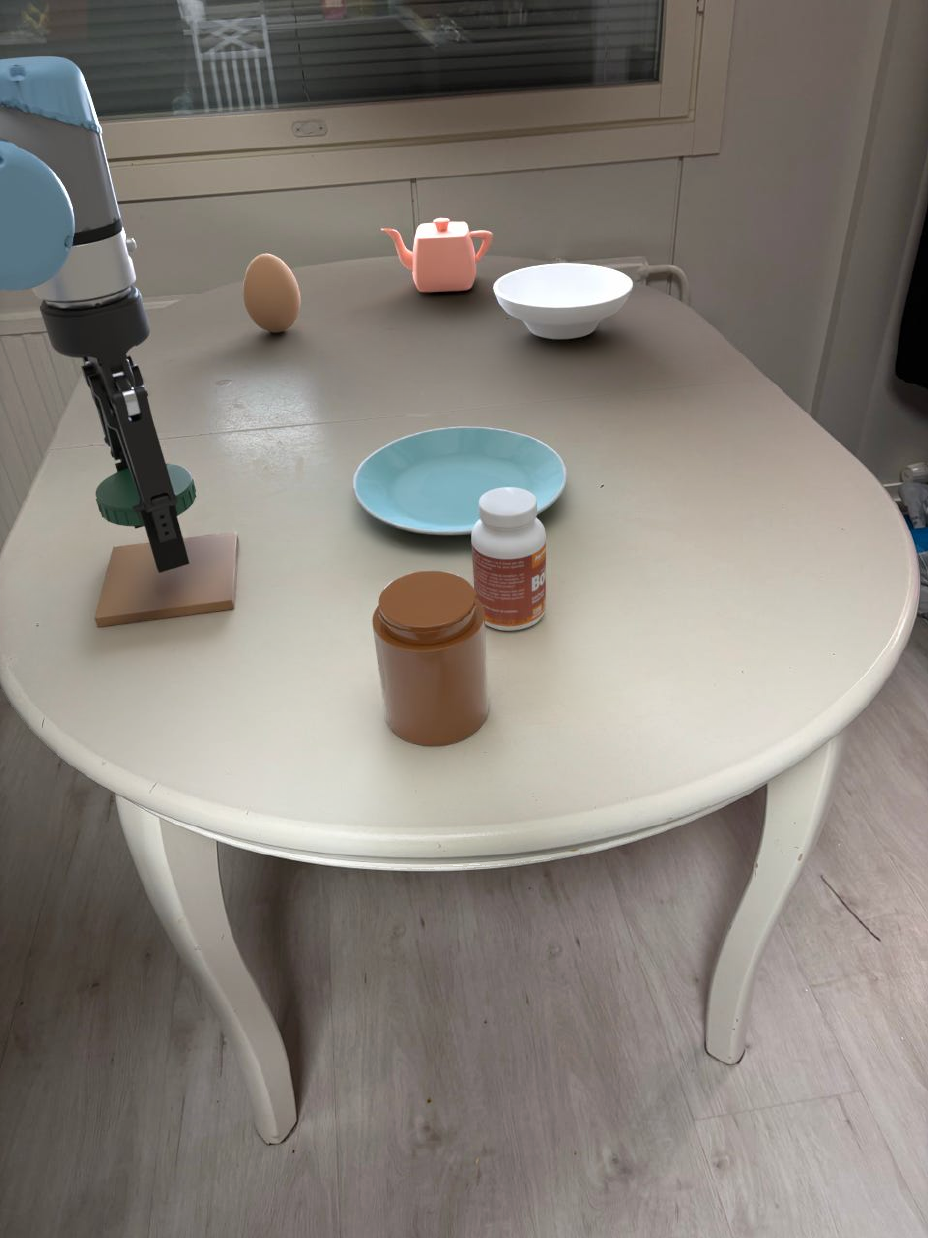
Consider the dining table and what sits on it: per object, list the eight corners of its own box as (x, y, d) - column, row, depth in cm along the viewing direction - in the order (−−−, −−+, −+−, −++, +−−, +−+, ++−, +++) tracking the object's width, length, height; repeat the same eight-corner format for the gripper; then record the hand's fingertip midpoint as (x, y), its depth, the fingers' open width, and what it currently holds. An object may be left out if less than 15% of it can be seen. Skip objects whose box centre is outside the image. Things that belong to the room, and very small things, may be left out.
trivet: (97, 627, 82) (93, 618, 81) (115, 555, 91) (113, 546, 91) (234, 609, 83) (232, 600, 82) (238, 539, 92) (236, 531, 92)
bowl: (553, 300, 145) (553, 255, 141) (657, 326, 134) (661, 278, 130) (467, 336, 134) (464, 289, 130) (572, 368, 123) (573, 317, 119)
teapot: (495, 293, 149) (493, 225, 143) (384, 299, 150) (377, 231, 144) (493, 272, 158) (492, 207, 152) (389, 277, 159) (383, 213, 153)
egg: (261, 345, 136) (246, 266, 129) (242, 329, 142) (227, 253, 135) (313, 332, 139) (301, 255, 132) (293, 317, 145) (281, 242, 138)
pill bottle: (546, 633, 78) (546, 520, 71) (473, 633, 78) (466, 520, 72) (545, 591, 83) (546, 481, 76) (476, 591, 83) (471, 482, 77)
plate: (539, 567, 86) (539, 541, 84) (320, 539, 92) (316, 515, 90) (585, 458, 103) (586, 435, 101) (398, 440, 108) (396, 418, 107)
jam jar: (390, 753, 68) (374, 639, 61) (380, 683, 74) (365, 573, 67) (497, 737, 68) (493, 623, 62) (478, 669, 75) (473, 559, 68)
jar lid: (206, 479, 85) (202, 461, 84) (183, 525, 79) (178, 507, 77) (117, 481, 85) (112, 464, 84) (86, 528, 79) (80, 509, 78)
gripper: (173, 320, 65) (236, 586, 78) (108, 253, 80) (171, 486, 93) (62, 343, 62) (147, 614, 76) (17, 269, 77) (95, 507, 91)
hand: (160, 543), depth 85 cm, fingers closed on jar lid, 8 cm apart
